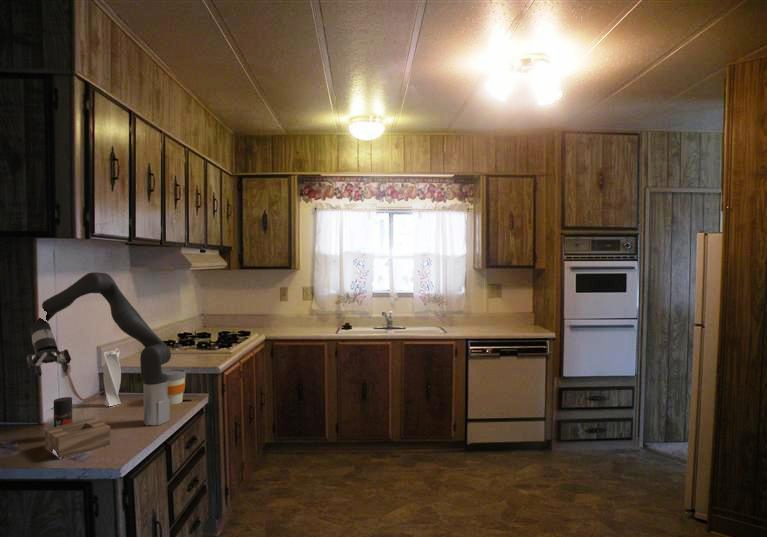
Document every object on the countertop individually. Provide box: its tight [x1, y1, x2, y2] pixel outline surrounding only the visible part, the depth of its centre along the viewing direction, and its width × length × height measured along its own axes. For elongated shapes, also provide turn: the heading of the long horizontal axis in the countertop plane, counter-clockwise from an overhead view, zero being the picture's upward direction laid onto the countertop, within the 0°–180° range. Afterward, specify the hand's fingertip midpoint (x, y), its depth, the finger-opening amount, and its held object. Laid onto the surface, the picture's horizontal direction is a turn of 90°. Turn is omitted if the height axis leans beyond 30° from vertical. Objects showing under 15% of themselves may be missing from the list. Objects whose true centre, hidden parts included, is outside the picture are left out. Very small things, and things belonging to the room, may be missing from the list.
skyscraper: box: [102, 347, 122, 408], centre depth 216 cm, size 8×8×28 cm
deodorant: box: [53, 396, 73, 427], centre depth 173 cm, size 6×6×15 cm
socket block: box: [44, 417, 111, 458], centre depth 164 cm, size 16×16×7 cm
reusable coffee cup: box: [162, 369, 187, 406], centre depth 219 cm, size 13×13×15 cm
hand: (53, 373), depth 181 cm, fingers open, 8 cm apart
